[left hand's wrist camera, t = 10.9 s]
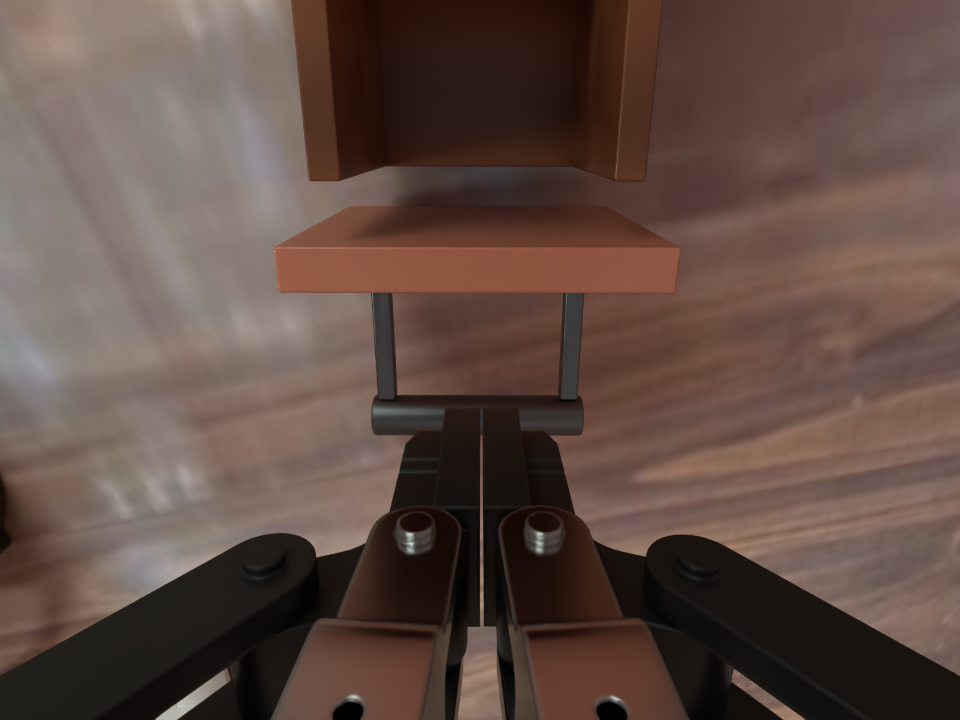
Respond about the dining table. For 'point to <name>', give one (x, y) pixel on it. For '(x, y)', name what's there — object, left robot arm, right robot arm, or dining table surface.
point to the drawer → (477, 142)
